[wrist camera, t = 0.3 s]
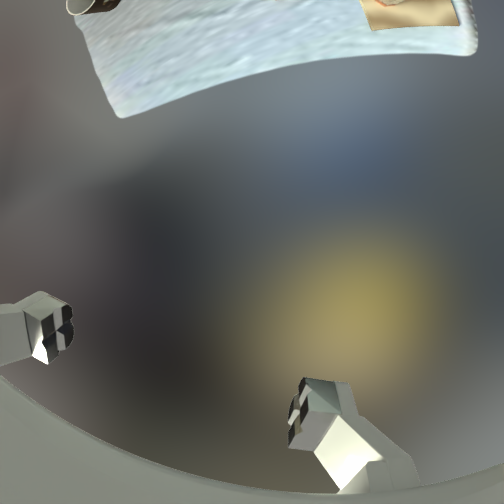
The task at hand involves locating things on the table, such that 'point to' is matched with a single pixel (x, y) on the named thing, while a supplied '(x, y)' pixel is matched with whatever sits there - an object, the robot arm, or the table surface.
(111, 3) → the coffee mug
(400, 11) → the pin board
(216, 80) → the table surface
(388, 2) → the sleeve
